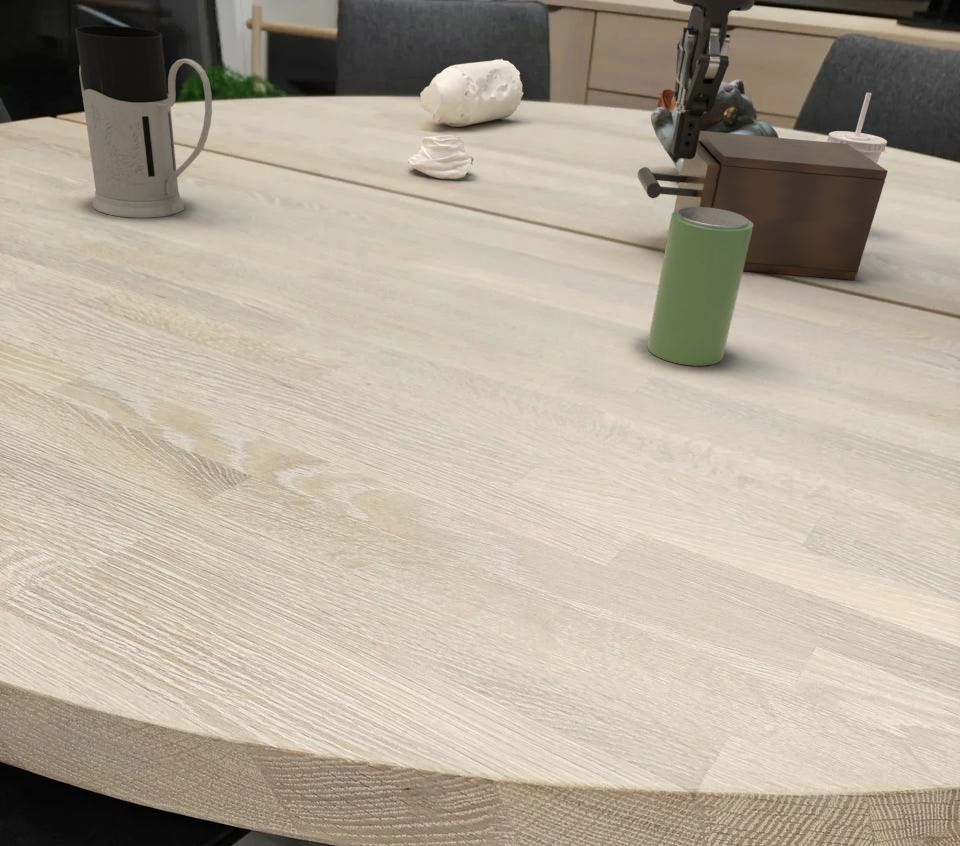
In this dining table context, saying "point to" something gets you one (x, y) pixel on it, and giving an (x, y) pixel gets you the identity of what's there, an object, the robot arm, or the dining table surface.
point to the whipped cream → (442, 157)
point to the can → (699, 285)
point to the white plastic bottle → (473, 93)
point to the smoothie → (861, 137)
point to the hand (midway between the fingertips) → (682, 156)
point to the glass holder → (133, 120)
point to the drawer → (686, 181)
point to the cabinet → (798, 201)
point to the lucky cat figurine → (712, 117)
